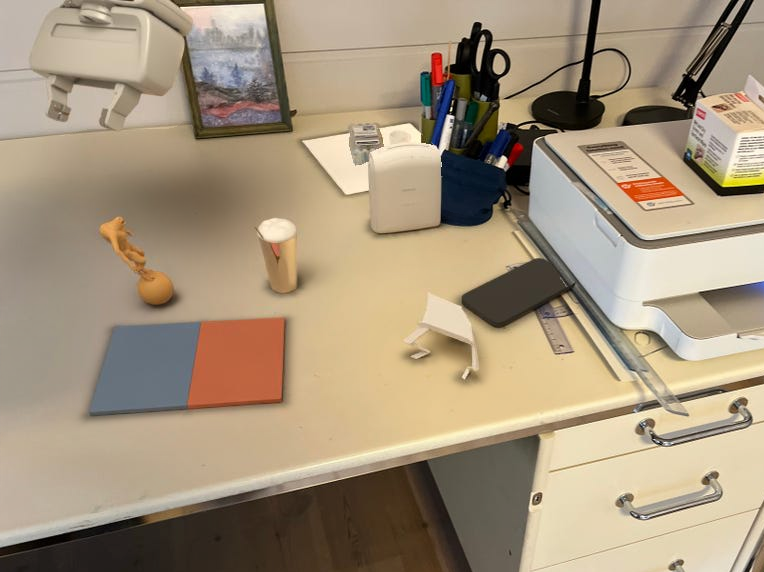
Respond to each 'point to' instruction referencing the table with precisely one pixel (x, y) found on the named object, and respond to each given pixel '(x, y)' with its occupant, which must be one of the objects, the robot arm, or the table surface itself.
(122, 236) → the figurine
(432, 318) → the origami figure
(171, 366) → the sorting board
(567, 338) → the table surface
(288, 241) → the milkshake
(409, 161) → the photo printer
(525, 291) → the phone
